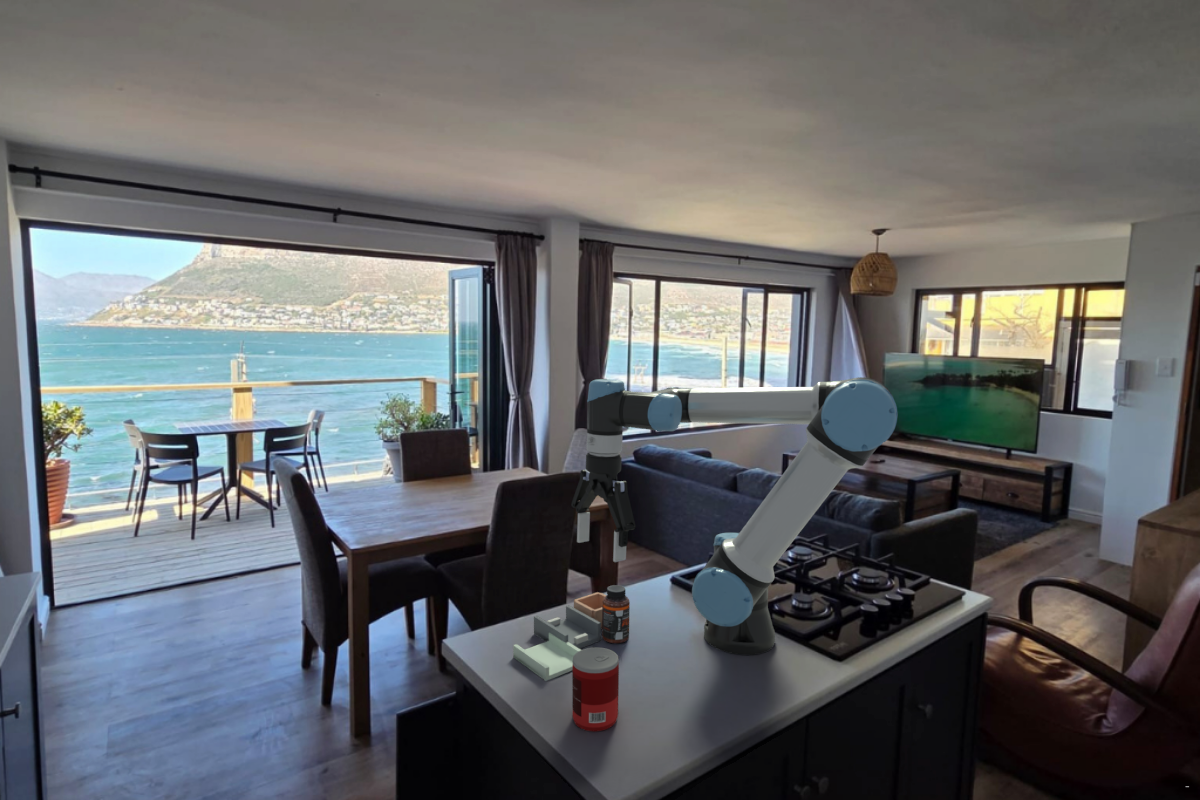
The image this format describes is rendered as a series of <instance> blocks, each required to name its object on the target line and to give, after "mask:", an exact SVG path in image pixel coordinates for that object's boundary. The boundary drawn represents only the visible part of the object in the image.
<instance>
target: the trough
mask: <svg viewBox="0 0 1200 800" xmlns="http://www.w3.org/2000/svg"><path fill="white" fill-rule="evenodd" d="M512 649H513V651H512V653H513V658H514V659H515V660H516V661H518V662H519V663H520V664H522V665H523V666H524V667H526V668H527V669H529V670H530V671H531V672H532V673H534V674H535V675H537V676H538V677H539V678H541V679H542V680H543V679H544V680H543V681H545V682H547V681H550V680H553V679H555V678H557V677H559V676H562V675H564V674H567V673H569V672H571V671H572V666H573V657H574V655H575V654H576V653H577V652H579V651H581V650H582V649H581V648H580V649H579V648H577V647H576V646H574V645H572V644H571V643H569V642H568V641H567V642H564V641H562V640H561V639H559V638H557V637H556V636H554V635H553V634H551V633H549V641H547V642H545V641H544V642H542V643H539V644H537V645H534V646H531V647H527V648H525V649H524V648H523V647H521V646H520V645H519V644H518V643H516V644H513V647H512Z"/></svg>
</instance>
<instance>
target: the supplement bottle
mask: <svg viewBox="0 0 1200 800" xmlns="http://www.w3.org/2000/svg"><path fill="white" fill-rule="evenodd" d="M606 595H607V596H605V597H604V598H603V602H602V629H601V638H602V639H603V640H604V641H605V642H606V643H610V644H623V643H625V642H626V641H628V640H629V638H630V605H631V604H630V602H631V601H630V598H629V597H628V596H627V595H626V588H625V586H623V585H619V584H617V585H615V584H613V585H610V586H607V587H606Z"/></svg>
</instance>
